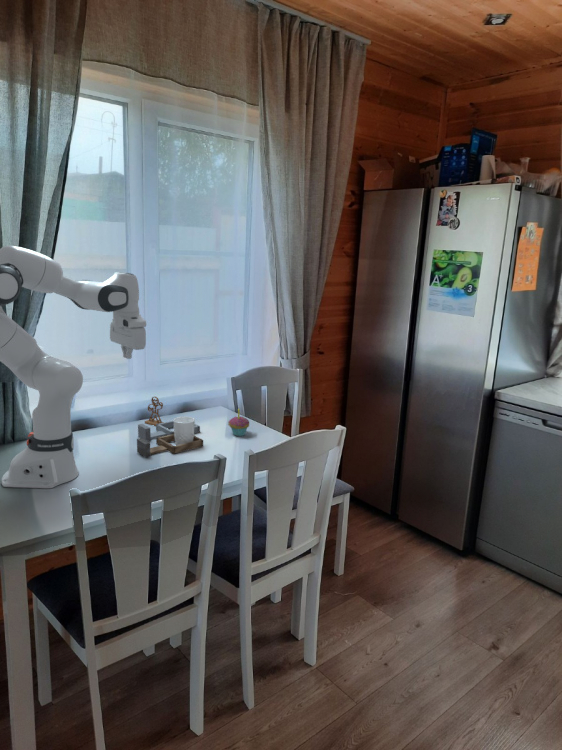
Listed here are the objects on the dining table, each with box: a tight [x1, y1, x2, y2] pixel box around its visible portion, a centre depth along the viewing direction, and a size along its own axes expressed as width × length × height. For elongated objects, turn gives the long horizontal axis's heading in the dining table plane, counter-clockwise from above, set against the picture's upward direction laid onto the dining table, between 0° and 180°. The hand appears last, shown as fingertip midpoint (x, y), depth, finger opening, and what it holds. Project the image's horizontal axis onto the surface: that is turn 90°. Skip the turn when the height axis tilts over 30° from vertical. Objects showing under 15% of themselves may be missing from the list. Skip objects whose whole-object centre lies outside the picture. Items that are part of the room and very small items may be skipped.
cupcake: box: [227, 408, 250, 437], centre depth 222 cm, size 9×8×12 cm
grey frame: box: [137, 420, 201, 442], centre depth 220 cm, size 22×12×5 cm, turn 132°
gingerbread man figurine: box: [144, 396, 164, 427], centre depth 230 cm, size 9×4×12 cm, turn 59°
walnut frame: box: [136, 434, 204, 458], centre depth 205 cm, size 22×12×5 cm, turn 132°
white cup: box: [172, 415, 196, 446], centre depth 209 cm, size 8×8×10 cm
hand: (127, 358), depth 196 cm, fingers closed
